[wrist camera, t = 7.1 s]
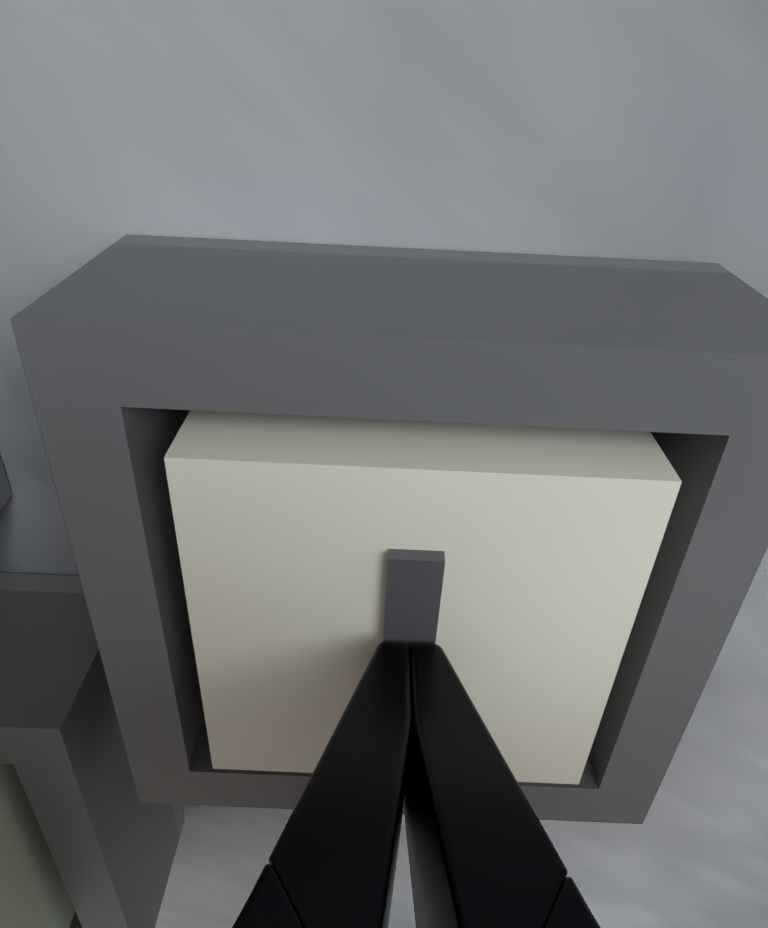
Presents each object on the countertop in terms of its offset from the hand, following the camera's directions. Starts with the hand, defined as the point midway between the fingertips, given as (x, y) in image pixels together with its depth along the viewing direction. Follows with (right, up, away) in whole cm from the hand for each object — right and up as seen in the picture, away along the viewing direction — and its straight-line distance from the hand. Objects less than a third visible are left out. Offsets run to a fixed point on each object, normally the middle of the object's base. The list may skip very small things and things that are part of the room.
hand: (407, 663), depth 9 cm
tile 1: (0, +1, +2) cm, 3 cm away
